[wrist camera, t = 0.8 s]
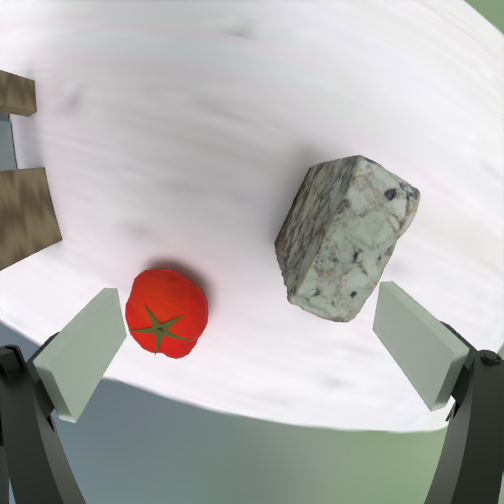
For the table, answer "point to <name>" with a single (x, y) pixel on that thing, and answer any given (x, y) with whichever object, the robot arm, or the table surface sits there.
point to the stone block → (342, 235)
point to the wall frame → (23, 188)
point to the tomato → (166, 312)
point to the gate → (6, 144)
